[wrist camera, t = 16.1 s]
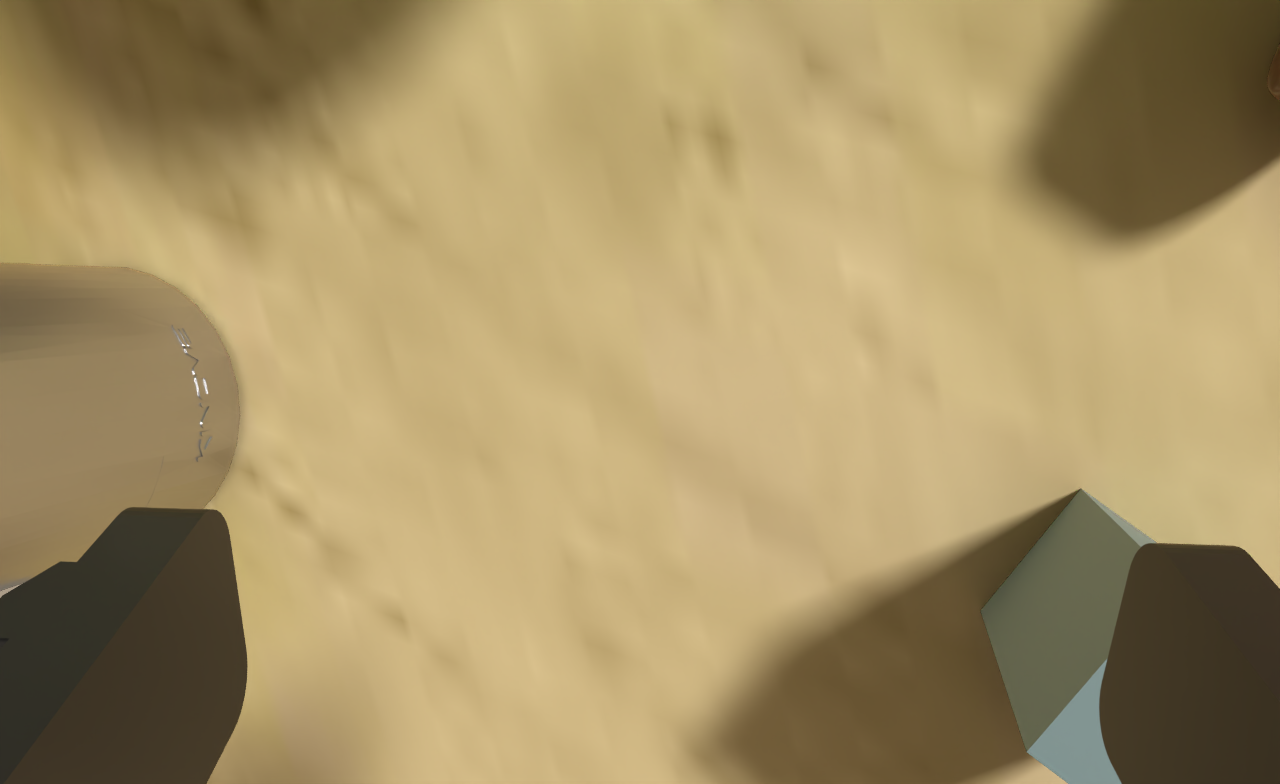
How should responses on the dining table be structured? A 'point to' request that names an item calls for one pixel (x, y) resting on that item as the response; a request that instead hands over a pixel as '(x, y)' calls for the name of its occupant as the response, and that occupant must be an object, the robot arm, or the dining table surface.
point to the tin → (1274, 75)
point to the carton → (1064, 635)
